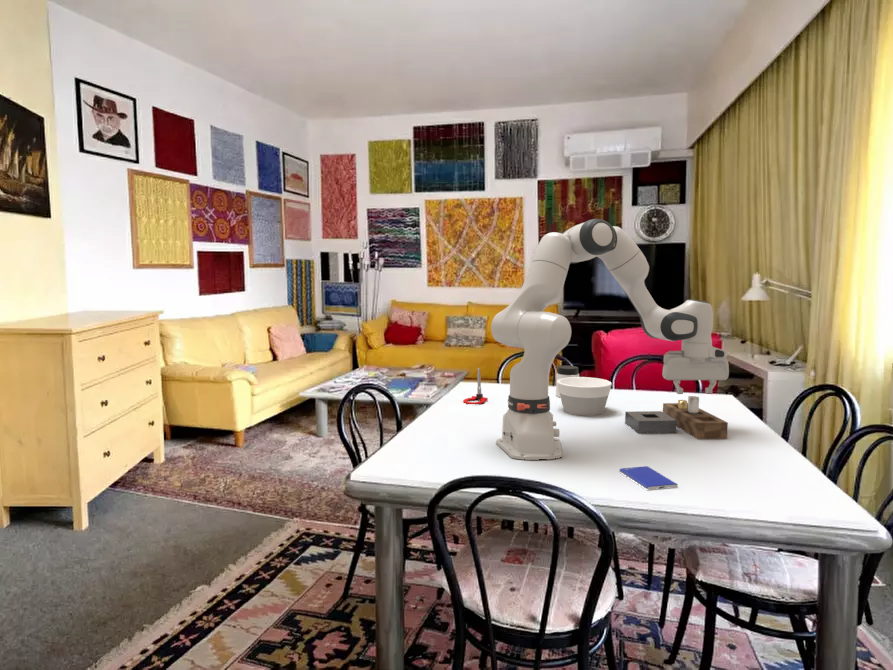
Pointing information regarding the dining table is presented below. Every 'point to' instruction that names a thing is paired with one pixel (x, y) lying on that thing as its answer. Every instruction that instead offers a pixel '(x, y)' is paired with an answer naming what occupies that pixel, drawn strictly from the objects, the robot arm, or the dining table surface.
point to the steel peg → (693, 405)
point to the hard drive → (648, 477)
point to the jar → (565, 375)
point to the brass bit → (682, 404)
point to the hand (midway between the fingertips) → (694, 393)
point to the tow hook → (479, 395)
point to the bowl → (584, 395)
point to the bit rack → (697, 422)
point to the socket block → (650, 422)
